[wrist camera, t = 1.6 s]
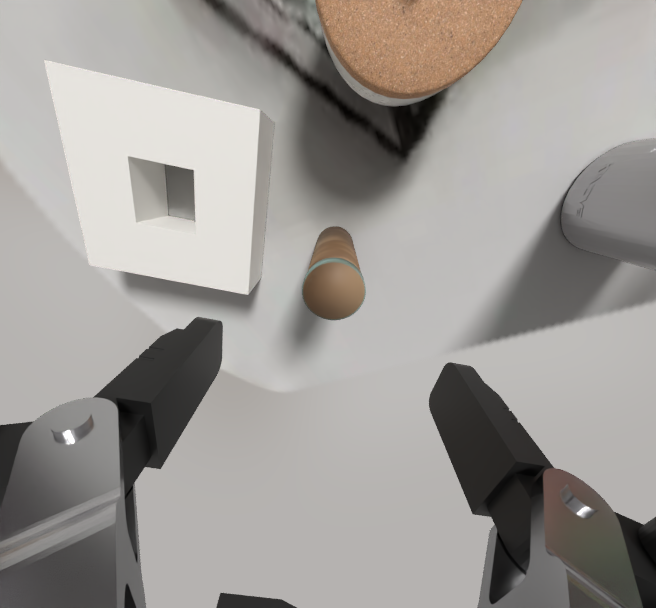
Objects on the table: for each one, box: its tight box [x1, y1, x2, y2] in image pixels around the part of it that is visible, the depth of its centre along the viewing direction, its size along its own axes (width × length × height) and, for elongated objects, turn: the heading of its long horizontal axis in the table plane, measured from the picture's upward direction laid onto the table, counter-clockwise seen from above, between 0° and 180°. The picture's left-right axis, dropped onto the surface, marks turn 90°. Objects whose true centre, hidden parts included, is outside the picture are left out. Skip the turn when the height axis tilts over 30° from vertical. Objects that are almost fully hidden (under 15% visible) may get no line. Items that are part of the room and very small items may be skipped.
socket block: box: [44, 60, 274, 295], centre depth 22 cm, size 14×14×4 cm
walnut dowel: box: [302, 227, 366, 320], centre depth 20 cm, size 4×4×12 cm
